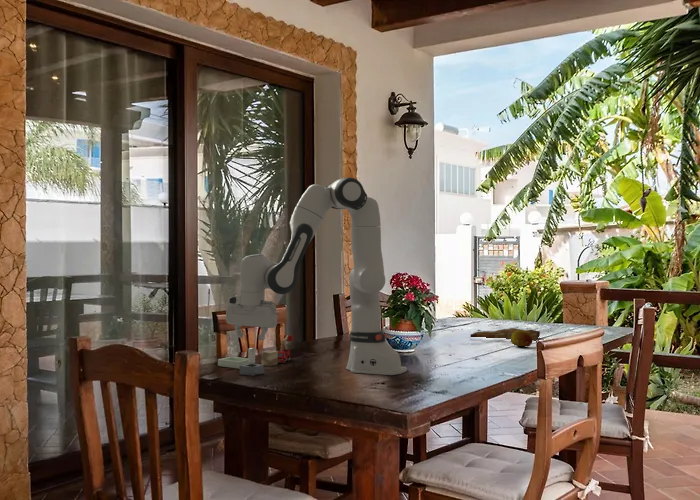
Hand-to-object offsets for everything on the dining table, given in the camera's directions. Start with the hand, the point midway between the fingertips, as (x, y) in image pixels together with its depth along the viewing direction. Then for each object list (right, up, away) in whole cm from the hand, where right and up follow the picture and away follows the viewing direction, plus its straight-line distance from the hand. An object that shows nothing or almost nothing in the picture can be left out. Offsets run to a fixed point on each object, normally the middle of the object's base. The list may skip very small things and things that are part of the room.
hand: (250, 338), depth 248 cm
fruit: (+114, -14, +74) cm, 137 cm away
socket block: (0, -12, 0) cm, 12 cm away
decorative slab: (+113, -14, +104) cm, 154 cm away
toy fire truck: (+9, -13, +29) cm, 33 cm away
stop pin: (0, -12, 0) cm, 12 cm away
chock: (+4, -13, +20) cm, 24 cm away
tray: (-8, -12, +16) cm, 22 cm away
